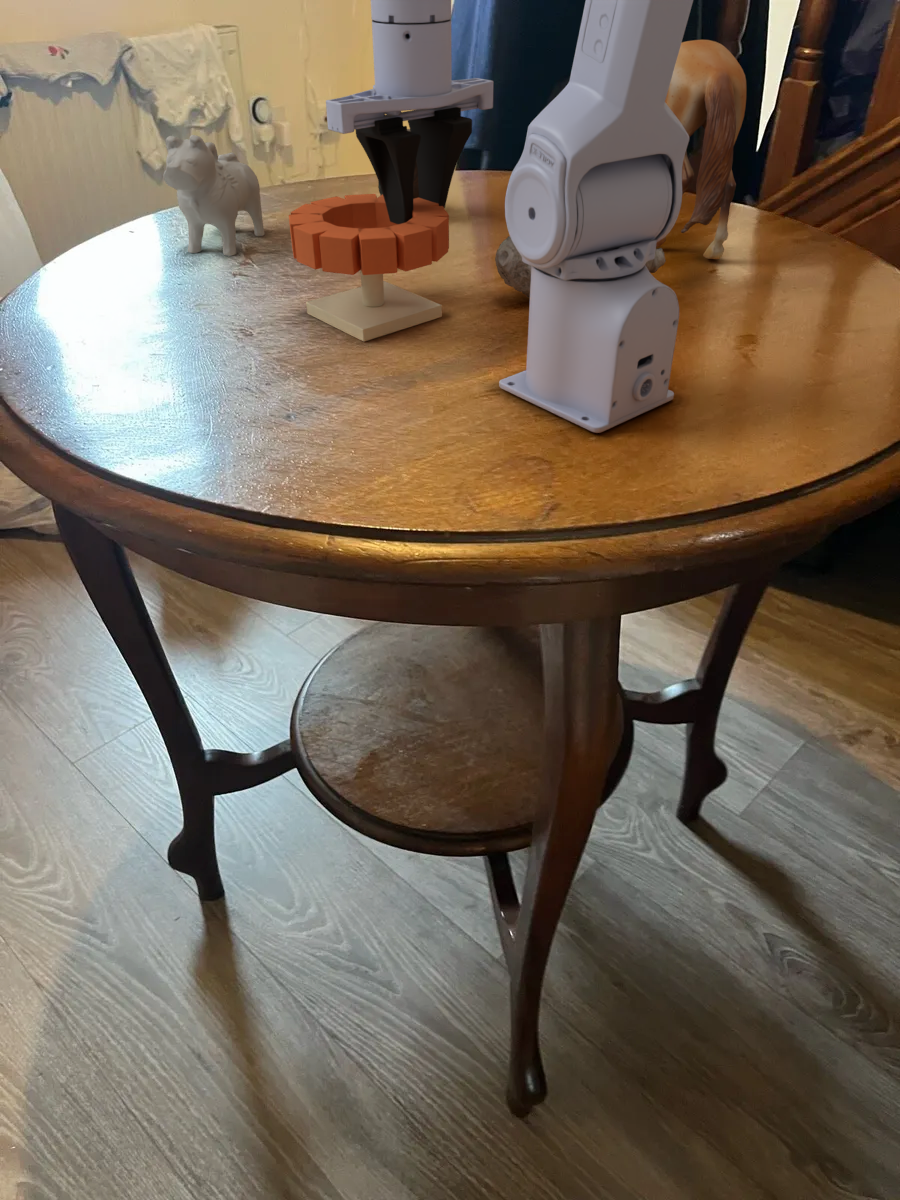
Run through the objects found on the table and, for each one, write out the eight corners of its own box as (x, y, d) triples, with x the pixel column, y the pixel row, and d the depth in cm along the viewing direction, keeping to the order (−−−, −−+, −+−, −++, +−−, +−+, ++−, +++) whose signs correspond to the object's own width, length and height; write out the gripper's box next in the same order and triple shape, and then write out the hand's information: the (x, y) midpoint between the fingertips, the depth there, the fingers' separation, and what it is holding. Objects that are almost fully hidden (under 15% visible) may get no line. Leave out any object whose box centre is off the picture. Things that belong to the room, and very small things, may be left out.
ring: (479, 251, 70) (479, 216, 69) (353, 286, 64) (350, 249, 63) (384, 218, 78) (383, 186, 76) (263, 247, 72) (258, 212, 70)
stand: (442, 316, 74) (441, 248, 70) (363, 342, 70) (358, 270, 66) (383, 291, 79) (380, 226, 75) (306, 313, 75) (299, 245, 71)
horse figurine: (568, 198, 102) (583, -21, 90) (632, 194, 104) (656, -23, 91) (681, 290, 78) (723, 10, 66) (762, 283, 80) (819, 6, 67)
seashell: (679, 274, 73) (650, 174, 70) (525, 341, 76) (489, 248, 72) (662, 264, 79) (634, 172, 76) (519, 327, 81) (485, 240, 78)
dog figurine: (165, 265, 85) (140, 141, 78) (225, 226, 94) (207, 112, 88) (217, 269, 84) (195, 144, 77) (272, 229, 93) (257, 115, 87)
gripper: (452, 8, 70) (452, 193, 79) (295, 23, 63) (314, 225, 71) (514, 15, 66) (508, 210, 74) (353, 32, 59) (367, 246, 67)
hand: (416, 219), depth 73 cm, fingers closed on ring, 3 cm apart
